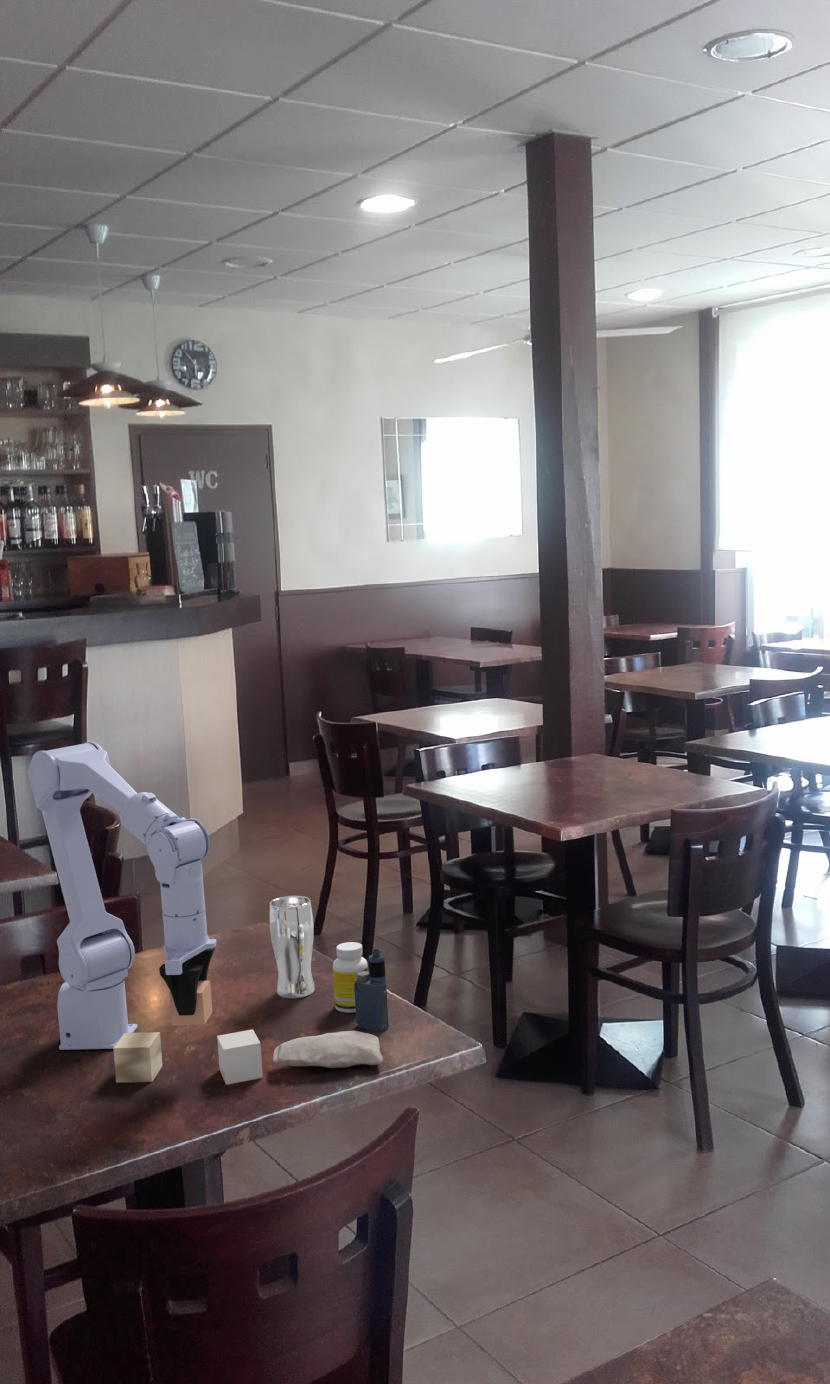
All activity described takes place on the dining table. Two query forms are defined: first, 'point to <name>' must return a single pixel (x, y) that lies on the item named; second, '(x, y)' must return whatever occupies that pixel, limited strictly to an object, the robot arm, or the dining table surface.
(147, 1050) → the birch cube
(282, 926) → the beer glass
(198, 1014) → the terracotta cube
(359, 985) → the vaping device
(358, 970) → the supplement bottle
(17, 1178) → the dining table surface
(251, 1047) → the white cube
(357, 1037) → the decorative stone
